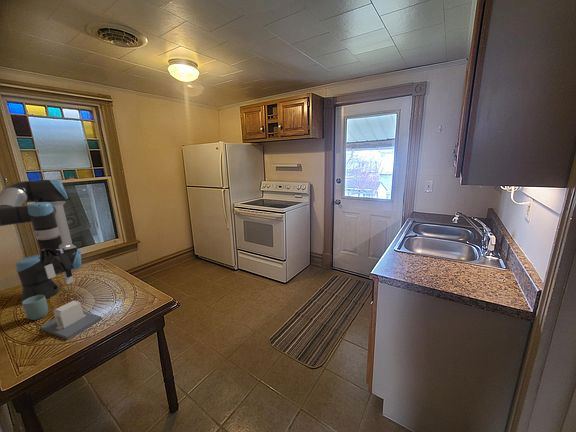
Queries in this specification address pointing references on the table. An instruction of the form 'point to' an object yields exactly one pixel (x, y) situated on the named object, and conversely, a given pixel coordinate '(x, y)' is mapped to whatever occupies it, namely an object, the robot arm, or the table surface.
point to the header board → (71, 326)
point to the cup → (35, 307)
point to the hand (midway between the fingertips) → (61, 280)
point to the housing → (68, 313)
